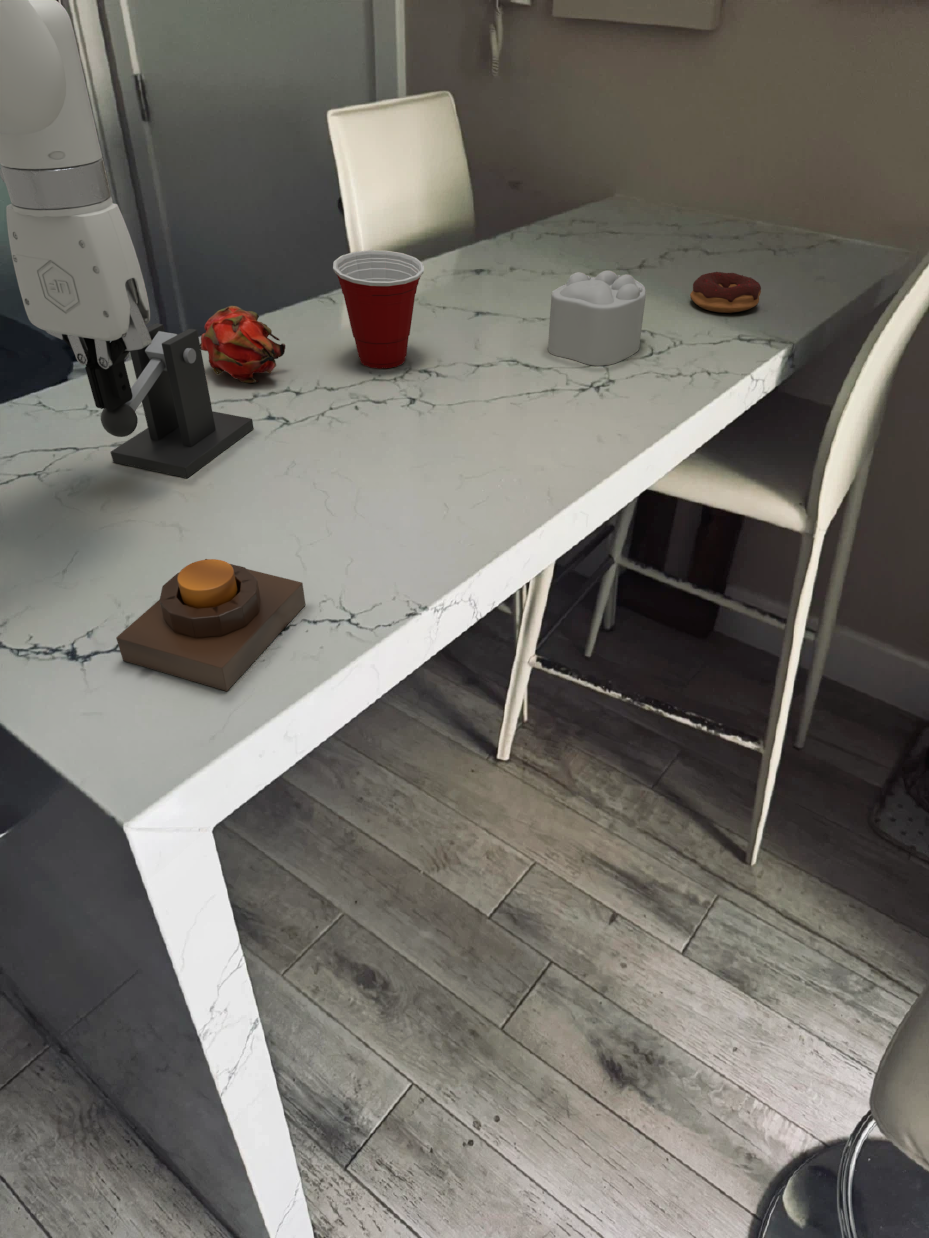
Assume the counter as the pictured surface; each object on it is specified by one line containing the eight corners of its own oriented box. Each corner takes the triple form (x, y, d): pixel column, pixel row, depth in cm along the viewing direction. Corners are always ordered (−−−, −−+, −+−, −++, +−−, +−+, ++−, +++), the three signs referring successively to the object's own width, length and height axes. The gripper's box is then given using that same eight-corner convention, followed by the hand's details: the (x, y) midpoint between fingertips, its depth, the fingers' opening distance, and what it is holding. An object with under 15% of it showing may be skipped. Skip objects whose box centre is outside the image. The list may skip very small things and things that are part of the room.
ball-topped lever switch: (132, 446, 82) (116, 423, 79) (105, 441, 83) (87, 417, 80) (193, 356, 87) (179, 331, 84) (166, 352, 88) (152, 327, 85)
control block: (227, 691, 61) (217, 647, 59) (122, 660, 64) (109, 617, 61) (305, 604, 69) (300, 563, 67) (210, 580, 72) (201, 539, 70)
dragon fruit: (223, 369, 112) (279, 410, 106) (169, 346, 104) (227, 389, 99) (253, 309, 110) (311, 347, 104) (201, 281, 103) (261, 321, 97)
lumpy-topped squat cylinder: (537, 350, 113) (541, 281, 108) (591, 324, 121) (596, 258, 116) (606, 369, 108) (613, 298, 103) (657, 340, 116) (666, 273, 111)
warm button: (217, 614, 62) (212, 595, 61) (170, 602, 64) (165, 582, 62) (247, 584, 65) (244, 565, 64) (202, 573, 66) (198, 554, 65)
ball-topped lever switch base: (187, 478, 86) (162, 362, 79) (112, 462, 88) (82, 348, 81) (253, 428, 95) (236, 320, 87) (184, 415, 97) (162, 308, 90)
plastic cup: (372, 385, 104) (365, 282, 97) (324, 358, 111) (314, 260, 103) (444, 363, 109) (443, 264, 102) (394, 339, 116) (389, 244, 109)
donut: (696, 291, 133) (700, 264, 130) (762, 299, 130) (768, 271, 127) (682, 311, 125) (686, 282, 123) (752, 320, 122) (757, 291, 120)
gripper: (-51, 188, 69) (21, 407, 80) (103, 205, 64) (156, 434, 76) (20, 170, 74) (78, 377, 85) (166, 184, 70) (207, 400, 81)
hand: (115, 403), depth 80 cm, fingers closed
